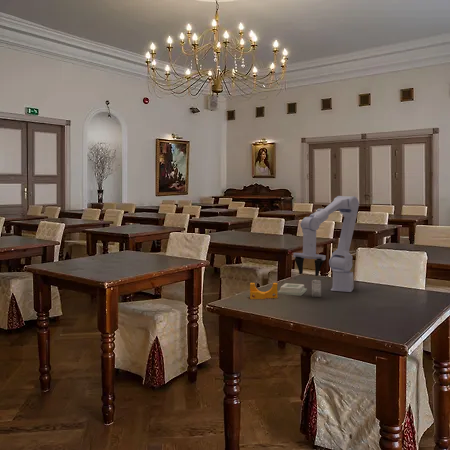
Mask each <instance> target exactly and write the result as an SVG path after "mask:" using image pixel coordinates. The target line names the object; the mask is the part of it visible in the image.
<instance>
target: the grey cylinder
mask: <svg viewBox="0 0 450 450" xmlns="http://www.w3.org/2000/svg"><path fill="white" fill-rule="evenodd" d="M311 297H313V298H321V297H322V281H321V280H320V279H313V280H311Z"/></svg>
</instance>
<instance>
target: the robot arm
mask: <svg viewBox="0 0 450 450" xmlns="http://www.w3.org/2000/svg"><path fill="white" fill-rule="evenodd" d="M359 206H360V202H359V199H358V197H357V196H355V195H351V196H349V195H347V196H346V195H345V196H344V195H337V196H336V197H334V198H333V201H331V202H330V203H329V204H328V205H327V206H326V207H324V208H323V207H322V208H317V209H316V211H315V212H313V213H311V214H310V215H309V216H305V217H303V219H301V222H300V228H301V231H302V232H301V233H302V252H293V253H292V254H293V258H294V262H295V264H296V266H297V269H298V274H299V275H302V274H303V273H304V262H305V261H304V260H305V259H309V260H314V269H315V271H314V276H315V277H318V276H319V275H320V271H321V267H322V265H323V264H324V262H325V260H326V259H327V257H326V256H327V255H324V254H318V253H317V230H319V228H320V226H321V224H323V223H324V222H326V221H327V220H329V216H330V215H331V214H333V213H335V212H336V211H338V212H339V213H340V214H341V215H343V222H342V227H341V231H340V235H339V240H338V245H337V249H336V250H334V251H333V252H332V254H331V257H330V258H329V260H328V265H329V268H330V269H331V271H332V287H331V288H330V291H332V292H333V291H334V292H346V293H352V292H353V290H354V288H355V287H354V272H353V271H351V270H352V268H353V255H352V253H351V252H350V248H351V243H352V239H353V235H354V230H355V225H356V221H357V217H358V212H359V211H358V210H359Z"/></svg>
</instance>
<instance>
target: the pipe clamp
mask: <svg viewBox="0 0 450 450" xmlns="http://www.w3.org/2000/svg"><path fill="white" fill-rule="evenodd" d="M278 291H279V290H278V282H273V283H272V286H271V288H270V289H268V290H267V291H261V290H259V289H258V288H257V286H256V283H255V282H250V283H249V299H250V300H266V299H278V296H279V294H278Z"/></svg>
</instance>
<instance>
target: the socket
mask: <svg viewBox="0 0 450 450" xmlns="http://www.w3.org/2000/svg"><path fill="white" fill-rule="evenodd" d="M277 291H278V295H287V296H298V297H299V296H300V297H301V296H303V295H304V294H305V293H306V292H307V291H308V288H307V287H306V288H305V284H302V283H287V282H285V283H284V284H282V285H281V286H280V289H279V290H277Z"/></svg>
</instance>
